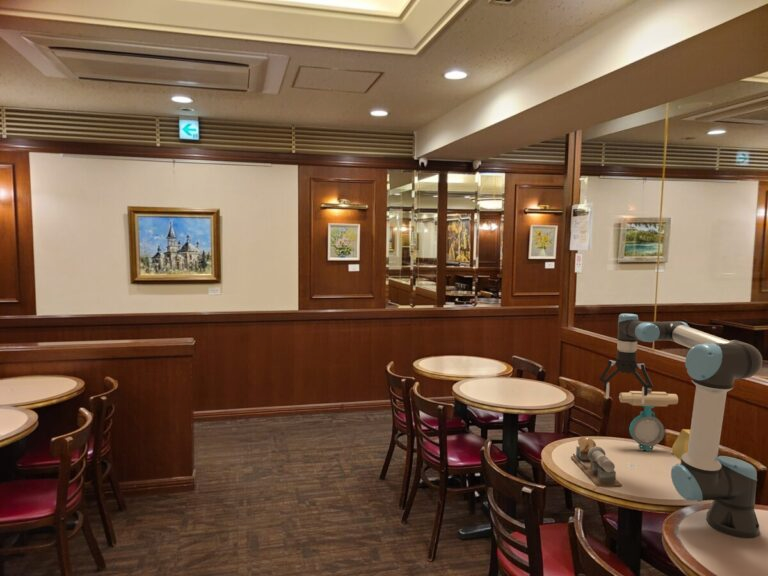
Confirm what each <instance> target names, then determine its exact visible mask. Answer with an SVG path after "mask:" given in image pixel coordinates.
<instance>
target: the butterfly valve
mask: <svg viewBox="0 0 768 576" xmlns="http://www.w3.org/2000/svg"><path fill="white" fill-rule="evenodd" d="M652 390H653V389H652V388H648V394H647V396H644V404H641V403H642V390H641V391H640V390H629V392H620V393H618V399H619V402H620V403H624V404H625V403H626V404H629V405H631V406H636V407H639V406H640V407H643V408H644V409H643V410H642V411H639V414H638V415H637V416H636V417H634V418H633V420H632V421H631V422H630V424H629V428H628V430H629V434H630V436H631V438H632V439H633V440H634V441H635V443H637V444H638V447H639V449H640V450H643V451H644V450H646V451H645V452H649V451H650V450H651V451H652V450H653V449H654V446H656V445H658V444H659V443H661V441H662V440H663V439H664V436H665V433H666V432H665V431H666V430H665V426H664V424H663V423H662V422H661V420H660V419H659V418H658V417H656V413H655V412H654V411H652V409H654V408H655V407H668V406H669V405H678V403H679V395H677V394H676V393H667V392H666V391H652Z"/></svg>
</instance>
